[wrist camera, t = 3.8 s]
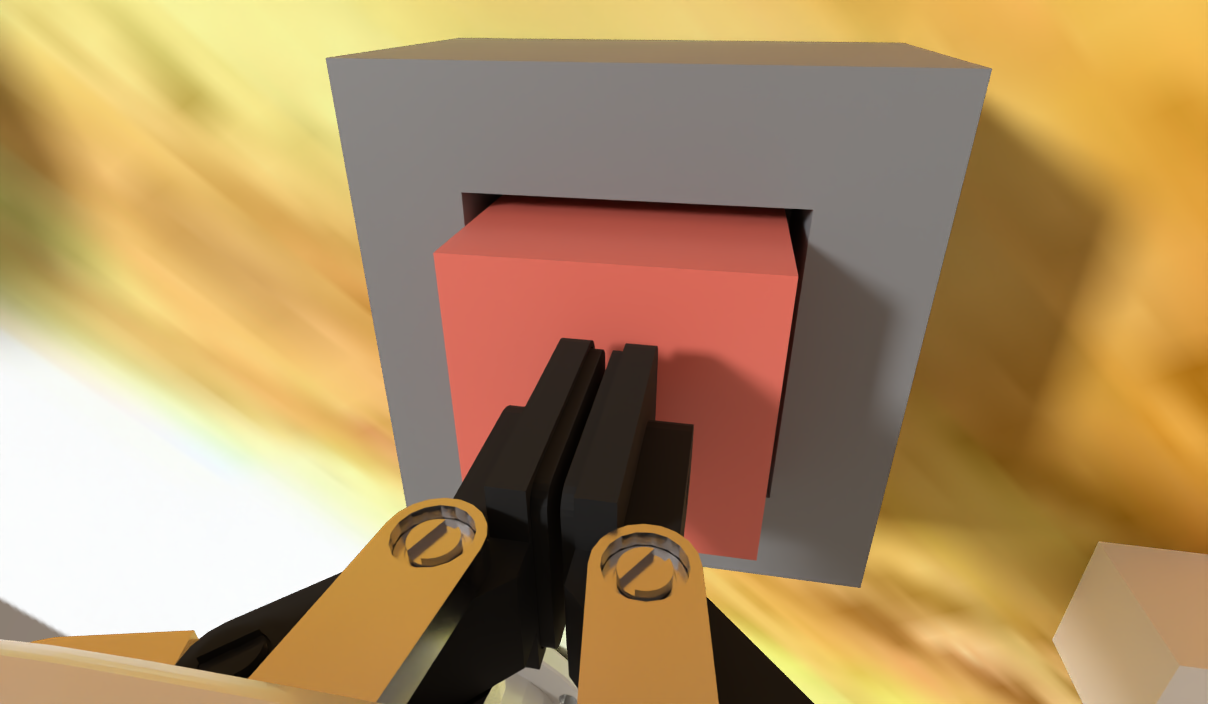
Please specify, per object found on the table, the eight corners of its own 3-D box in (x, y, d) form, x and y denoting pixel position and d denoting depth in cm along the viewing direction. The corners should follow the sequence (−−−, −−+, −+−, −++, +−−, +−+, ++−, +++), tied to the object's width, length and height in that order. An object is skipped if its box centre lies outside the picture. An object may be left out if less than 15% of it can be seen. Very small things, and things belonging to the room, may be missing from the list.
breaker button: (753, 445, 17) (756, 560, 14) (520, 421, 18) (467, 522, 15) (784, 207, 14) (798, 276, 11) (504, 193, 15) (433, 252, 12)
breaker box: (828, 429, 23) (860, 587, 17) (492, 396, 25) (410, 527, 19) (903, 42, 17) (991, 69, 11) (458, 37, 19) (325, 57, 13)
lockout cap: (1199, 659, 25) (1297, 801, 20) (1051, 638, 25) (1115, 770, 21) (1262, 559, 22) (1388, 695, 18) (1097, 539, 23) (1179, 665, 19)
